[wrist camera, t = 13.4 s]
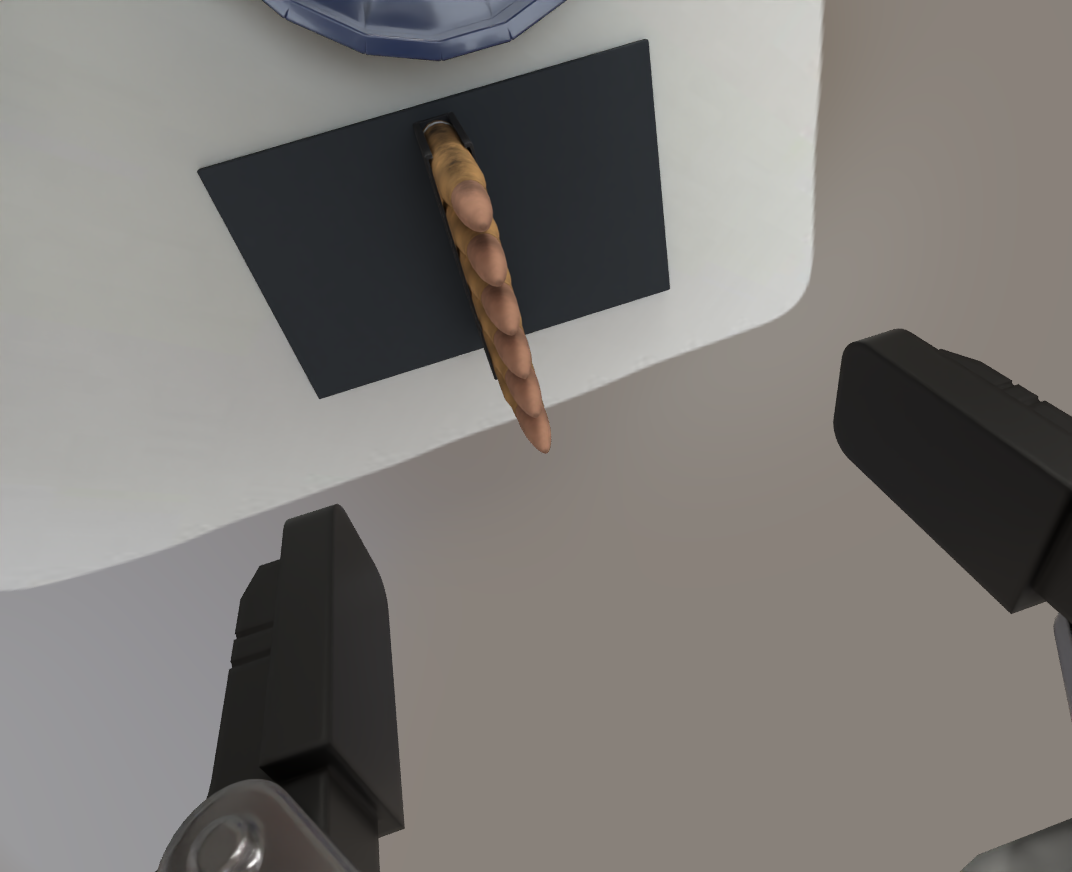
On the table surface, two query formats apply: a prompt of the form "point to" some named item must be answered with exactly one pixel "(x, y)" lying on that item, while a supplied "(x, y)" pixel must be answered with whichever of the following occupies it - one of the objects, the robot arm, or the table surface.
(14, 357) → the table surface
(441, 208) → the ammunition clip
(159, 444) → the table surface
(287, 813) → the robot arm
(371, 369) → the desk mat
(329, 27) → the bowl
